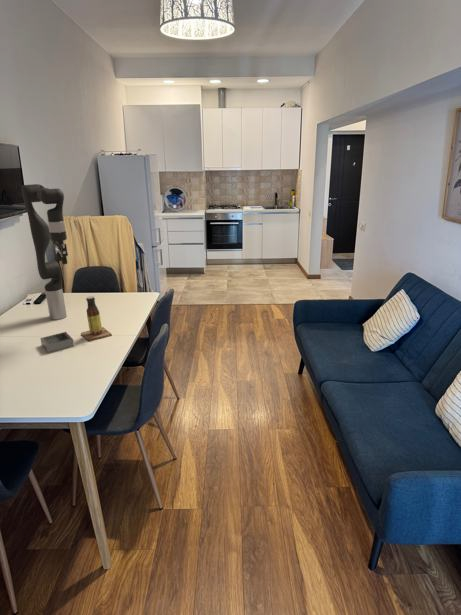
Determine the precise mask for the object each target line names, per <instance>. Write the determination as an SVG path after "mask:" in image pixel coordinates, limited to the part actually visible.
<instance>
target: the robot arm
mask: <svg viewBox="0 0 461 615" xmlns="http://www.w3.org/2000/svg"><path fill="white" fill-rule="evenodd" d="M21 194H22V198H23V199H22V200H23V202H24V206H25V210H26V212H27V213H26V214H27V217H28V223H29V227H30V228H29V229H30V233H31V237H32V241H33V246H34V251H35V256H36V258H35V259H36V263H37V271H38V275H39V277H40V278H41V279H42V280H49V279H51V280H50V281H48V282H47V283H46V284H45V285H44V291H45V298H46V303H47V304H46V305H47V307H48V308H47V309H48V313H49V319H50V320H52V321H53V320H54V321H55V320H62V319H65V318H67V317H68V316H67V309H66V304H65V298H64V291H63V281H62V270H61V266H60V263H59V262H61V264H62V265H67V264H68V259H67V257H68V255H69V254H68V248H67V247H68V246H67V244H66V243H64V241H66V240H67V237H68V236H67V232H66V231H67V230H66V225H65V221H64V213H63V210H64V209H63V208H64V201H65V195H64V194H65V193H64V192H63V190H62V189H61V188H49V187H48V188H47V187H45V186H44V185H41V184H38V183H36V184H23V185H22V186H21ZM41 202H42V204H44V205H54V204H55V206H54V207H53V208H50V209H48V210H47V211H46V215H47V222H46V221H45V220H44V219H43V218H42V217H41V216H40V214H39V213H38V212H37V211H36V209H35V208H34V206H33V203H41ZM50 242H52V243H53V249H54V253H55V254H56V259H57V261H56V260H51V261H47V262H46V253H47V250H48V247H49V245H50Z"/></svg>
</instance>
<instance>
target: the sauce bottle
mask: <svg viewBox="0 0 461 615" xmlns="http://www.w3.org/2000/svg"><path fill="white" fill-rule="evenodd" d="M85 300H86V302H87V309H86V318H87V322H88V328H89V331H90V333H91V334H92V335H98V334H101V333H102V327H103V325H102V321H101V315H100V311H99V308H98V306H97V304H96V299H95V296H92V295H91V296H87V297H86V299H85Z"/></svg>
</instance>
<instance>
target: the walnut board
mask: <svg viewBox="0 0 461 615" xmlns="http://www.w3.org/2000/svg"><path fill="white" fill-rule="evenodd" d="M80 334H81V336H82V337H84V339H86V340H87V341H88V342H93V341H97V340H100V339H104V338H108V337H111V336H113V335H112V333H111V332H110V331H109V330H107V329H106V328H105V327H103V326H102V333H101V334H98V335H92V334H91V333H90V330H87V331H82V332H81V333H80Z"/></svg>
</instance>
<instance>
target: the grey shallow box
mask: <svg viewBox="0 0 461 615" xmlns="http://www.w3.org/2000/svg"><path fill="white" fill-rule="evenodd" d="M40 343H41V347H42V348H43V349H44V350H45V351H46V353H47V354H50V353H54V352H57V351H60V350H61V351H62V350H66V349H69V348H73V347H75V343H74V339H73V337H72V336H71V335H70V334H69V333H67V331H64V332H61V333H60V332H59V333H55V334H51V335H47V336H44V337H40Z"/></svg>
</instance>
